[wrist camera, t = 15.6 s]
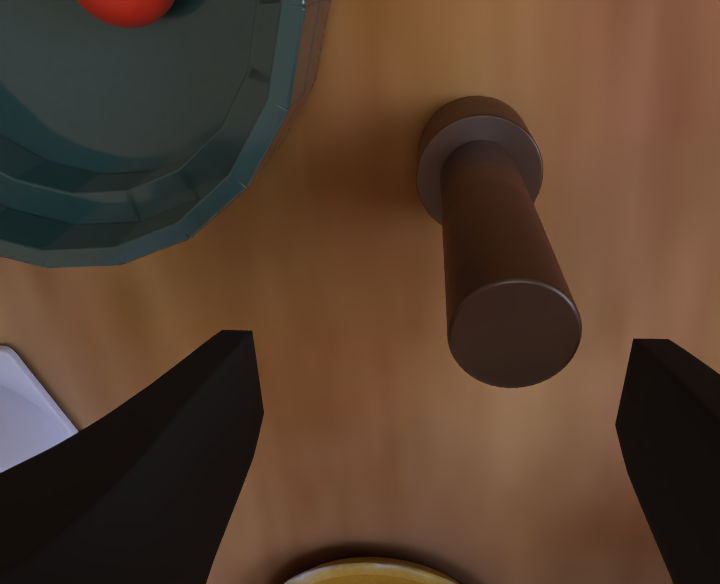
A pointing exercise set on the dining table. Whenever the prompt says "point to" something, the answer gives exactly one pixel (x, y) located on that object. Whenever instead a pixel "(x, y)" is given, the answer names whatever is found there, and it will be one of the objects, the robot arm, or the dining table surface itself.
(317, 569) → the tableware set
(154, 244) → the bowl
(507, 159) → the muddler
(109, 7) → the tomato
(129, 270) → the dining table surface
